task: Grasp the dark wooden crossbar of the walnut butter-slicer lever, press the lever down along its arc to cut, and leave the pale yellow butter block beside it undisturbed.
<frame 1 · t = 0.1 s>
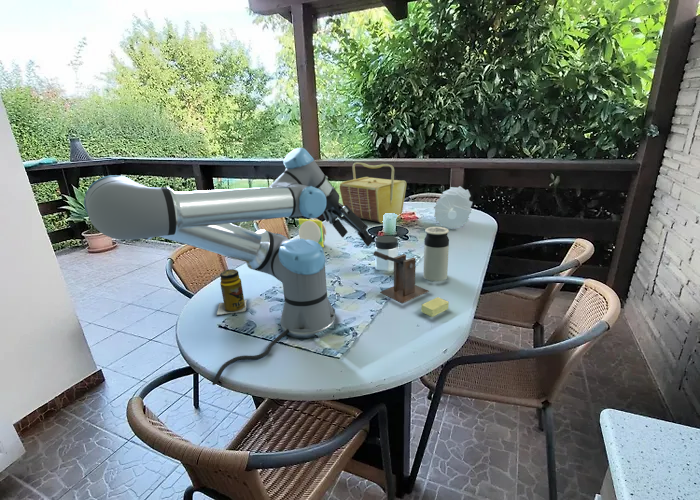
hand: (357, 238, 124), 15 cm above the table, tool tilted 35°, fingers open, 13 cm apart
picnic basket: (373, 217, 207), on the table
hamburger: (314, 244, 167), on the table
wooden lever stand: (404, 295, 116), on the table
butter: (434, 314, 105), on the table
travel mug: (435, 280, 126), on the table
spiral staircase: (452, 224, 188), on the table
slicer lever: (393, 259, 109), point 13 cm above the table, hinge at 28.0°
condiment: (232, 308, 114), on the table
jar: (386, 270, 136), on the table
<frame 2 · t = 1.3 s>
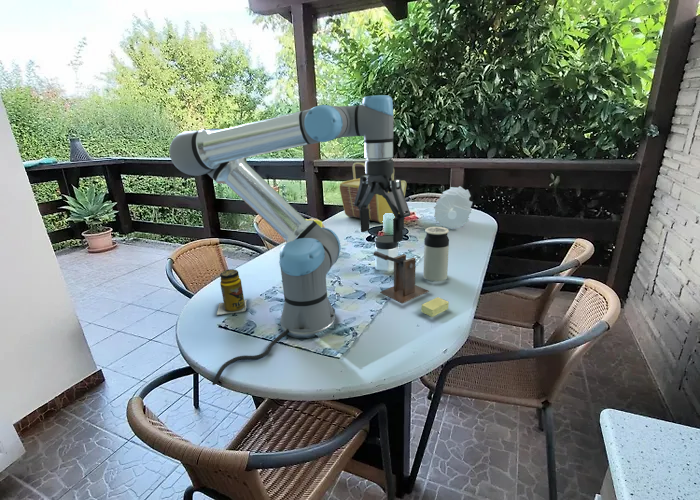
hand: (380, 236, 103), 22 cm above the table, tool pointing down, fingers open, 13 cm apart
nothing on the table moved.
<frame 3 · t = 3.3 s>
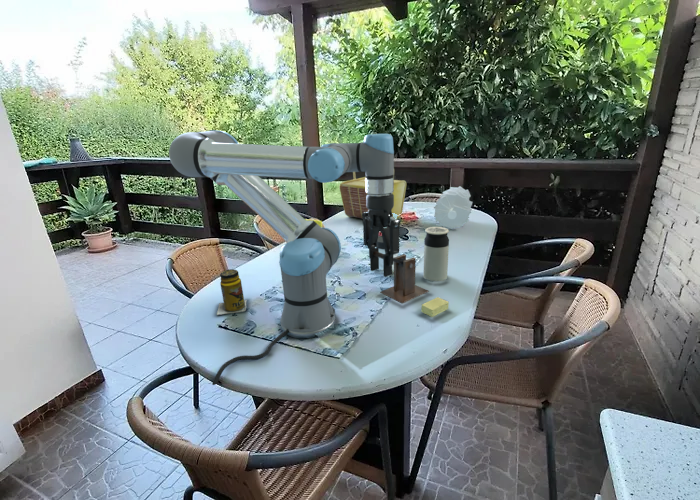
hand: (381, 272, 107), 11 cm above the table, tool pointing down, fingers closed on slicer lever, 5 cm apart
slicer lever: (393, 259, 109), point 13 cm above the table, hinge at 28.0°, touching gripper
everything else where it was.
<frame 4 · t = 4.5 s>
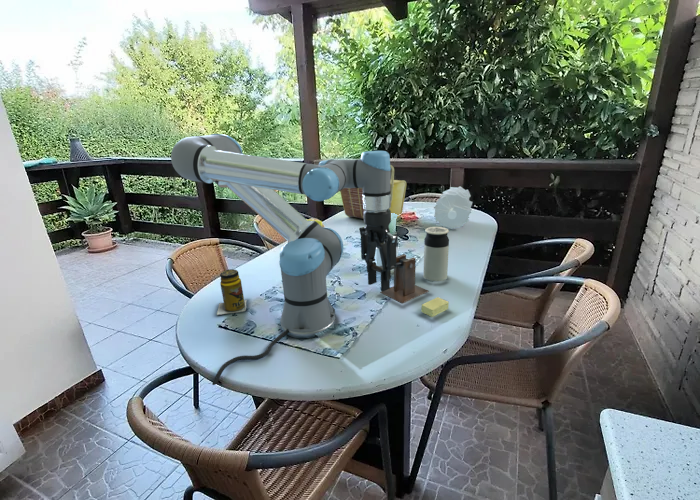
hand: (378, 286, 108), 7 cm above the table, tool pointing down, fingers closed on slicer lever, 5 cm apart
slicer lever: (392, 265, 109), point 12 cm above the table, hinge at 7.3°, touching gripper
everything else where it was.
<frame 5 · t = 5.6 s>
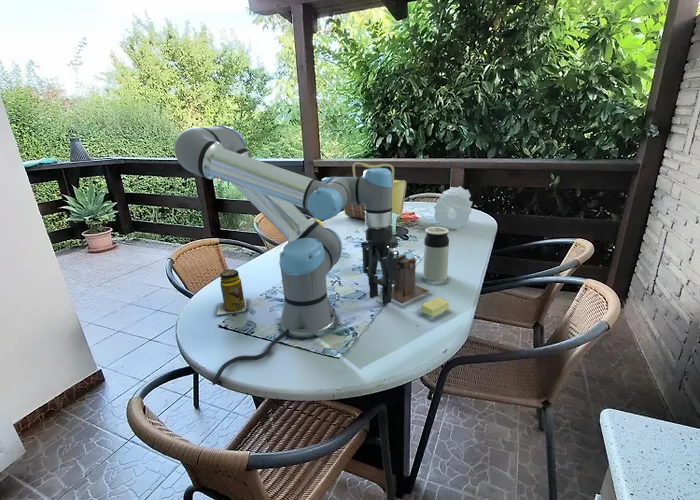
hand: (380, 299, 110), 2 cm above the table, tool pointing down, fingers closed on slicer lever, 5 cm apart
slicer lever: (392, 271, 110), point 10 cm above the table, hinge at -15.5°, touching gripper
everything else where it was.
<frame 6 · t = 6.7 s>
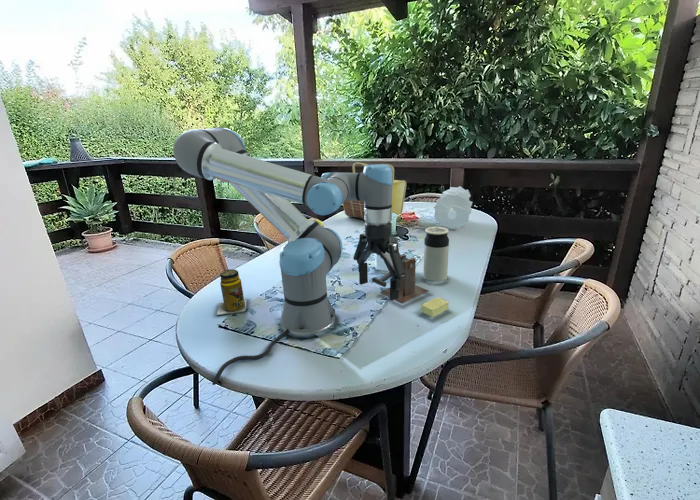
hand: (378, 290, 109), 5 cm above the table, tool pointing down, fingers open, 13 cm apart
slicer lever: (392, 271, 110), point 10 cm above the table, hinge at -15.6°
everything else where it was.
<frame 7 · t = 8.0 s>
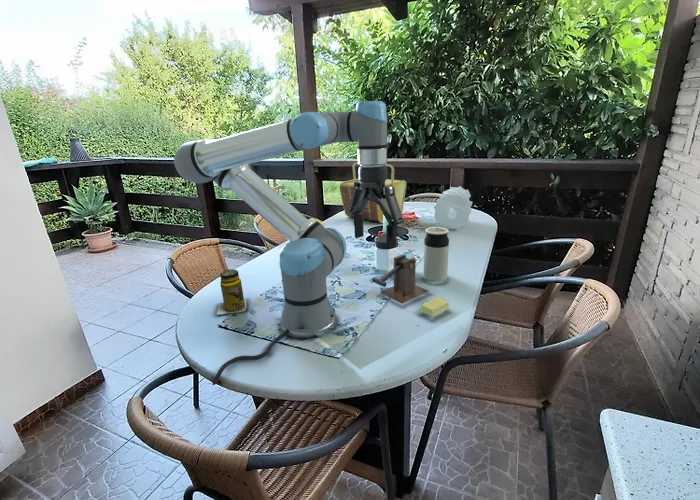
hand: (374, 242, 102), 21 cm above the table, tool pointing down, fingers open, 13 cm apart
nothing on the table moved.
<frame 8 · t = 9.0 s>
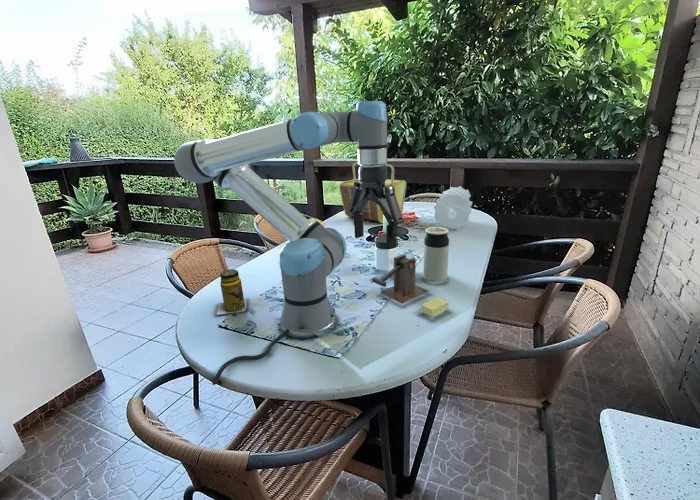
hand: (374, 242, 102), 21 cm above the table, tool pointing down, fingers open, 13 cm apart
nothing on the table moved.
at the end: slicer lever at -16° (first picture: +28°); butter moved 0.0 cm from its start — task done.
